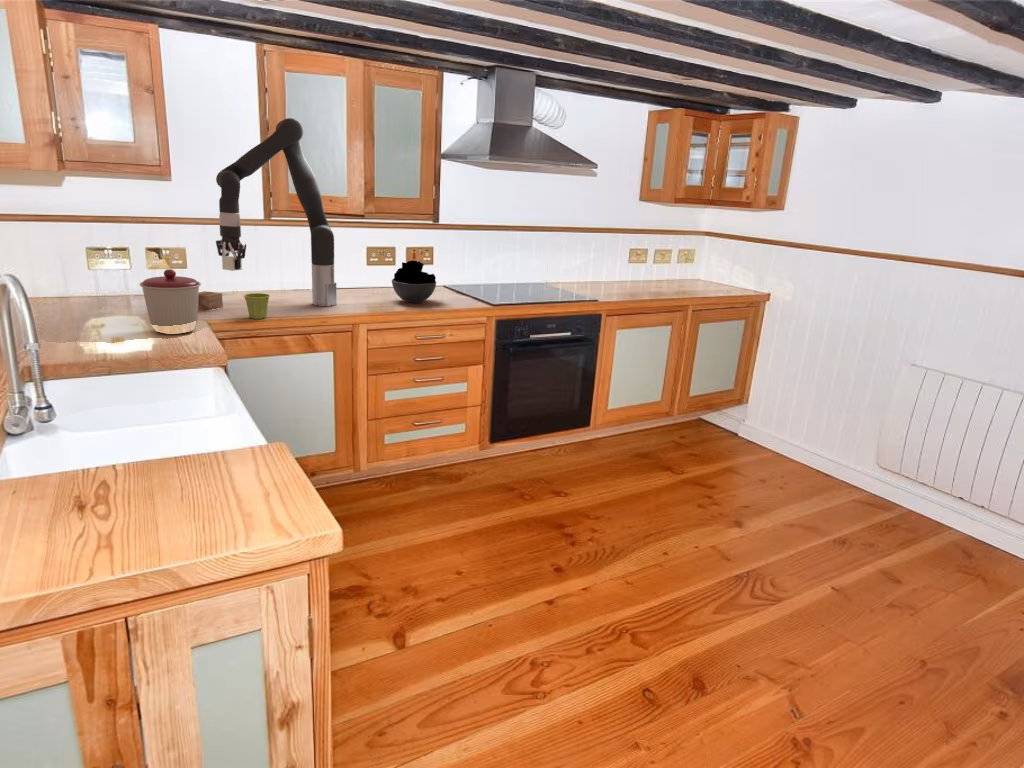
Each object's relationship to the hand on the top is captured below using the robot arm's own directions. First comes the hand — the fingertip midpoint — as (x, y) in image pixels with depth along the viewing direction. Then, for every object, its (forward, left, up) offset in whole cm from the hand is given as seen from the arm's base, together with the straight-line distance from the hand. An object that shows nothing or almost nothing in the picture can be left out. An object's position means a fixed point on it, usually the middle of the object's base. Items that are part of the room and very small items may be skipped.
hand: (232, 268), depth 258 cm
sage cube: (0, 0, -1) cm, 1 cm away
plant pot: (-20, +8, -16) cm, 27 cm away
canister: (-16, +41, -16) cm, 47 cm away
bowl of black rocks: (-47, -60, -16) cm, 78 cm away
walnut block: (+6, +8, -16) cm, 19 cm away
